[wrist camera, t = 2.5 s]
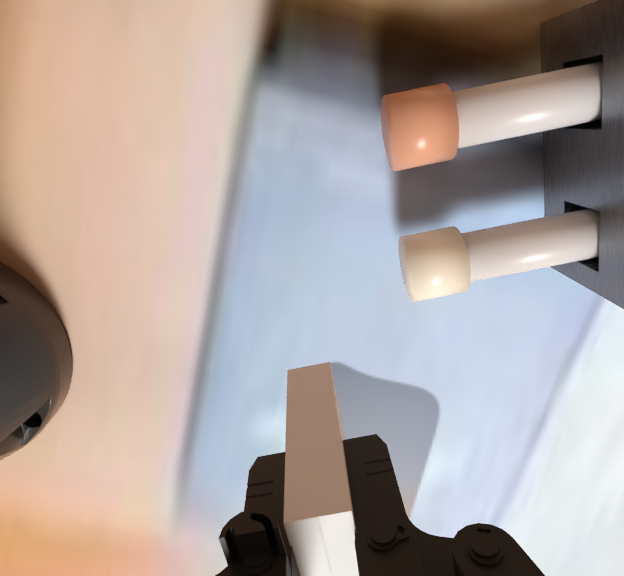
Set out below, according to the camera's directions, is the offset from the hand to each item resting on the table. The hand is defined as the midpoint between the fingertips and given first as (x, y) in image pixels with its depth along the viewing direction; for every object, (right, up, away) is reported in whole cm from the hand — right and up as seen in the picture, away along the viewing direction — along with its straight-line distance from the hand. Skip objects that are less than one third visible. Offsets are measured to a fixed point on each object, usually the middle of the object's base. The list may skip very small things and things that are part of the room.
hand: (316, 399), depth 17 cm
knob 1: (+11, +14, +9) cm, 20 cm away
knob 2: (+13, +7, +12) cm, 19 cm away
